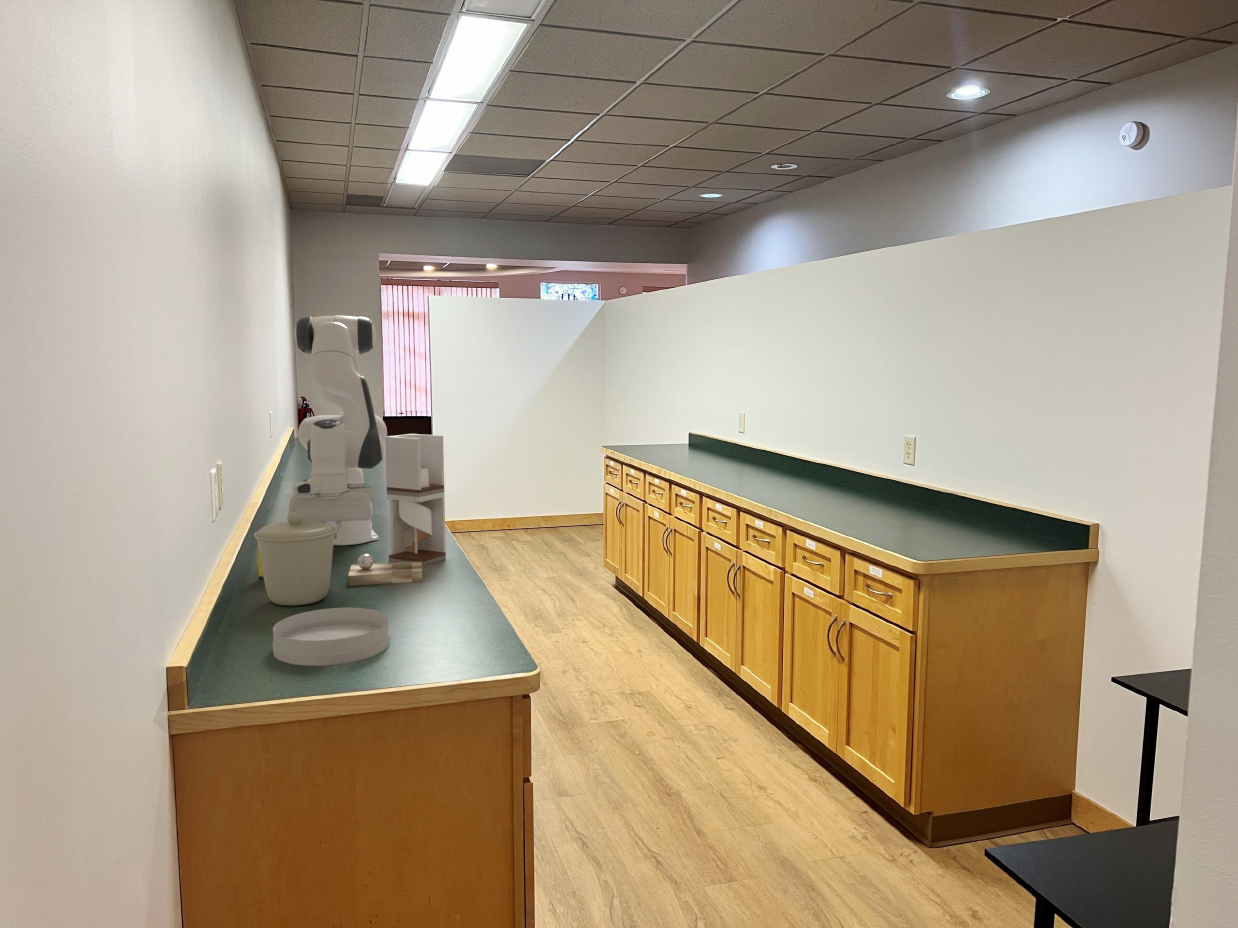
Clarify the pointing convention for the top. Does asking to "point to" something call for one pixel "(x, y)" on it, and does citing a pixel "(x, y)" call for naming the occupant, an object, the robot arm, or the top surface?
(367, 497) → the robot arm
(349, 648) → the dish
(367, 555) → the steel ball
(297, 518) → the canister
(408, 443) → the display case
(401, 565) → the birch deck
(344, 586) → the top surface
